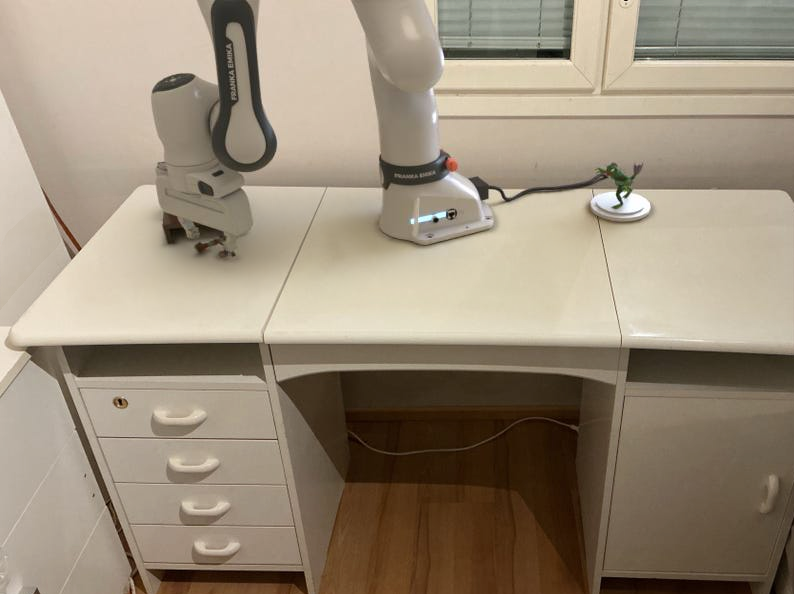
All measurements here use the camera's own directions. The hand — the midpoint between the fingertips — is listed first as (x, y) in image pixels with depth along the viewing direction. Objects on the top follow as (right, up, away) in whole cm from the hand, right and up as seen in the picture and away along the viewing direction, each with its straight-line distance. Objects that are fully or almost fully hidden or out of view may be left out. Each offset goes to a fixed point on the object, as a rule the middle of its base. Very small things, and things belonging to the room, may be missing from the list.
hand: (212, 243), depth 142 cm
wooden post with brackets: (0, -2, +2) cm, 3 cm away
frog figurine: (+78, +9, +15) cm, 80 cm away
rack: (-6, +7, +13) cm, 15 cm away
